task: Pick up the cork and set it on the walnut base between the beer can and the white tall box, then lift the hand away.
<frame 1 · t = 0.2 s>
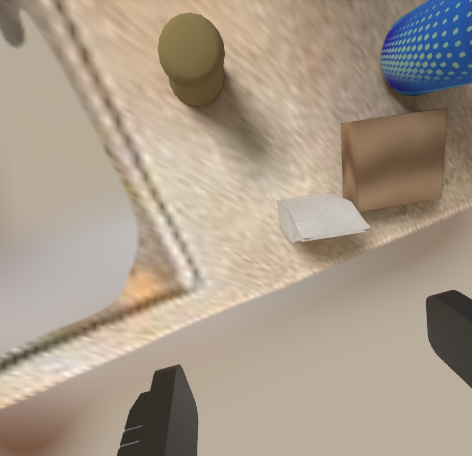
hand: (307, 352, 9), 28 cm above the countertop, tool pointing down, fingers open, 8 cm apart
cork: (196, 77, 32), on the countertop
beer can: (408, 58, 34), on the countertop
white tall box: (304, 209, 38), on the countertop
walnut base: (381, 159, 37), on the countertop
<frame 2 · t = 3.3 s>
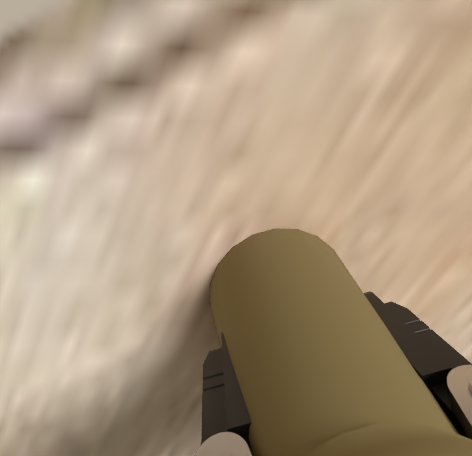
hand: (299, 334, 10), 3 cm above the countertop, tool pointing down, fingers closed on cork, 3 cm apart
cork: (277, 292, 13), on the countertop, touching gripper
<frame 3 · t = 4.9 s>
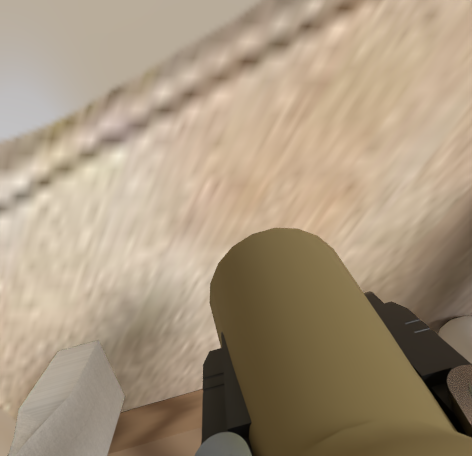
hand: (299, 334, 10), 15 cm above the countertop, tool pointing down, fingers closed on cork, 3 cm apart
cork: (277, 291, 13), point 12 cm above the countertop, touching gripper
donut: (456, 322, 30), on the countertop
white tall box: (93, 372, 28), on the countertop
walnut base: (177, 436, 31), on the countertop
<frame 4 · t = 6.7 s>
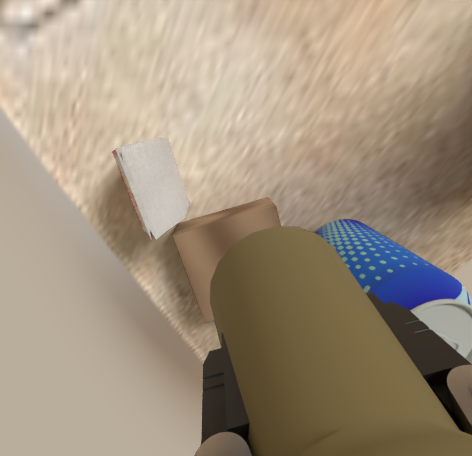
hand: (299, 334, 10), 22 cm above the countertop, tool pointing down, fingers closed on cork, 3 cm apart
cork: (278, 290, 13), point 19 cm above the countertop, touching gripper
beer can: (335, 250, 34), on the countertop
white tall box: (162, 176, 30), on the countertop
walnut base: (235, 252, 33), on the countertop
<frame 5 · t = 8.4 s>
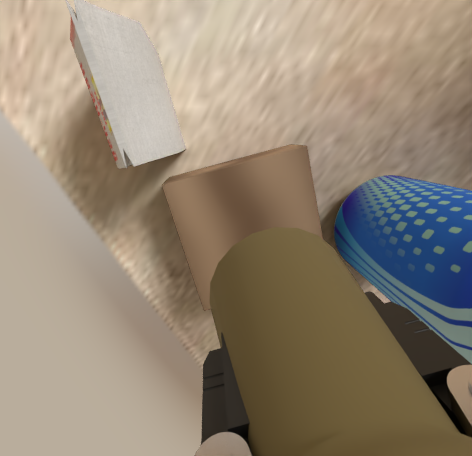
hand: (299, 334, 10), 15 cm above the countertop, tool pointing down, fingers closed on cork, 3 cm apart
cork: (277, 291, 13), point 13 cm above the countertop, touching gripper
beer can: (372, 220, 26), on the countertop
white tall box: (149, 109, 22), on the countertop
walnut base: (245, 219, 25), on the countertop
when the fingers open (8 cm above the countertop, at t = 10.1 s): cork moves 1 cm, resting on walnut base.
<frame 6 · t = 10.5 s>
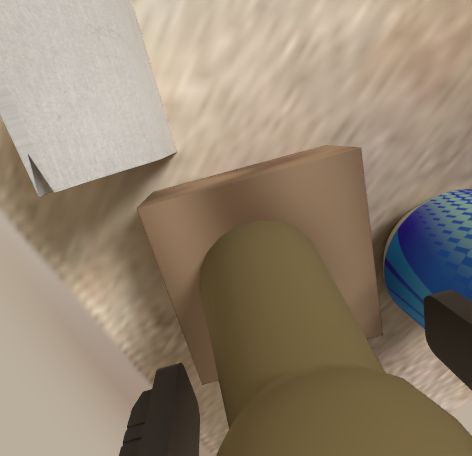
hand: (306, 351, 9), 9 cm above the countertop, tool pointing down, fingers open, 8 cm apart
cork: (261, 278, 14), point 4 cm above the countertop, touching walnut base
beer can: (431, 248, 19), on the countertop
white tall box: (122, 94, 15), on the countertop
walnut base: (259, 248, 18), on the countertop
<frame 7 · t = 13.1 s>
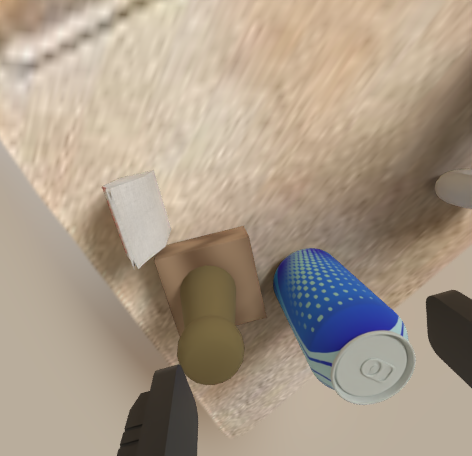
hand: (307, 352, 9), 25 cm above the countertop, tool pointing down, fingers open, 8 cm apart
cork: (208, 290, 32), point 4 cm above the countertop, touching walnut base
donut: (451, 181, 36), on the countertop
beer can: (302, 275, 37), on the countertop
white tall box: (146, 203, 33), on the countertop
walnut base: (212, 274, 36), on the countertop
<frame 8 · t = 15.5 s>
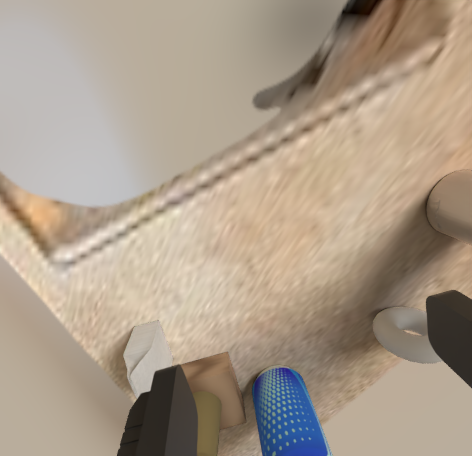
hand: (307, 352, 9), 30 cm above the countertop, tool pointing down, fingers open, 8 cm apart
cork: (201, 406, 43), point 4 cm above the countertop, touching walnut base
donut: (389, 311, 46), on the countertop
beer can: (276, 381, 48), on the countertop
white tall box: (154, 341, 44), on the countertop
walnut base: (205, 385, 47), on the countertop
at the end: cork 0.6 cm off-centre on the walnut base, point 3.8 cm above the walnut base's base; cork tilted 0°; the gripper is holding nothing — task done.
